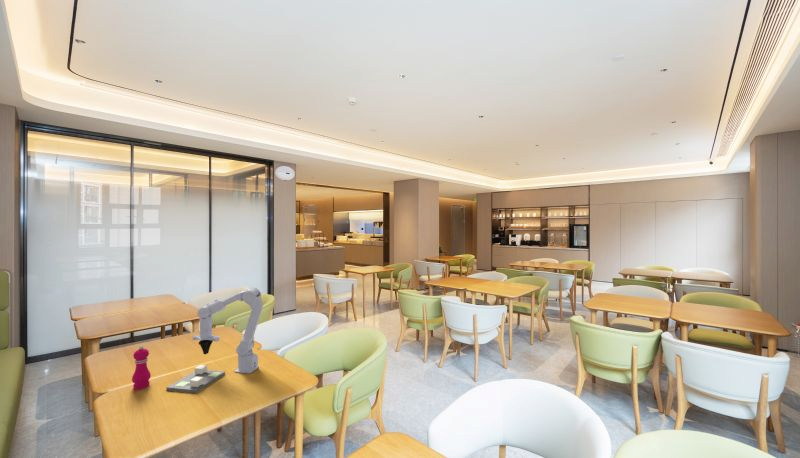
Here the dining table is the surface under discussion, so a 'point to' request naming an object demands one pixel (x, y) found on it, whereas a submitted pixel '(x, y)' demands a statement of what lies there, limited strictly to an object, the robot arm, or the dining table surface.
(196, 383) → the left knob
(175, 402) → the dining table surface
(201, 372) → the right knob
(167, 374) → the dining table surface
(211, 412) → the dining table surface
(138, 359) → the pepper mill
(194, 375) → the switch board
